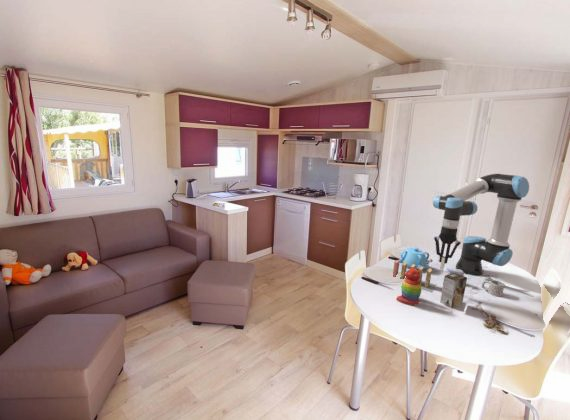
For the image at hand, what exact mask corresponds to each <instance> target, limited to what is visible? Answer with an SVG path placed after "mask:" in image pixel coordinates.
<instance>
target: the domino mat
mask: <svg viewBox="0 0 570 420" xmlns="http://www.w3.org/2000/svg"><path fill="white" fill-rule="evenodd" d="M425 281H426V280H421V291H426V292H429V293H434V290H435V289H436V287H437V284H436V283H432V282H430V284H429V287H428V288H425Z"/></svg>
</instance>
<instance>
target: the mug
mask: <svg viewBox="0 0 570 420" xmlns="http://www.w3.org/2000/svg"><path fill="white" fill-rule="evenodd" d="M486 284H489V286H488V287H485V285H486ZM505 286H506V284H505V283H504V282H502V281H499V280H496V279H491V280H483V282H482V284H481V288H482V289H483V290H486V291H487V292H488V294H490V295H491V296H495V297H499V298H500V297H503V293H504V290H505Z"/></svg>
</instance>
